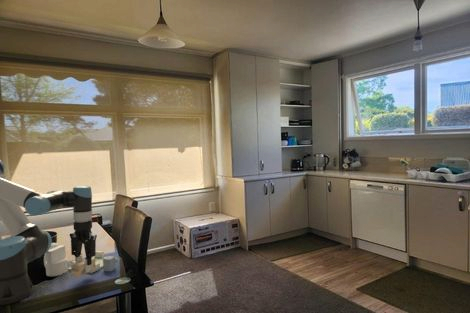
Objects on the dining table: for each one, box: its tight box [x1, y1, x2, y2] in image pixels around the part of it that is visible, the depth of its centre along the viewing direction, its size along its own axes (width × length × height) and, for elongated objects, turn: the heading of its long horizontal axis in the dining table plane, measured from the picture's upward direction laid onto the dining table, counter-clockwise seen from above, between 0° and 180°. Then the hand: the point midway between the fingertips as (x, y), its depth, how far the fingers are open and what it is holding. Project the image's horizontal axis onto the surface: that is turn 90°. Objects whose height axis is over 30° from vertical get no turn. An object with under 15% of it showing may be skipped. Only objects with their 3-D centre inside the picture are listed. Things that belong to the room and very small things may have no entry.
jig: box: [67, 250, 118, 274], centre depth 155 cm, size 18×15×4 cm
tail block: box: [102, 255, 117, 272], centre depth 148 cm, size 4×4×6 cm
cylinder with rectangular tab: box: [45, 244, 68, 277], centre depth 147 cm, size 9×9×12 cm
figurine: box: [43, 242, 60, 269], centre depth 156 cm, size 7×8×12 cm
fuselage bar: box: [70, 258, 95, 278], centre depth 136 cm, size 10×4×5 cm, turn 163°
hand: (83, 271), depth 136 cm, fingers closed on fuselage bar, 4 cm apart
